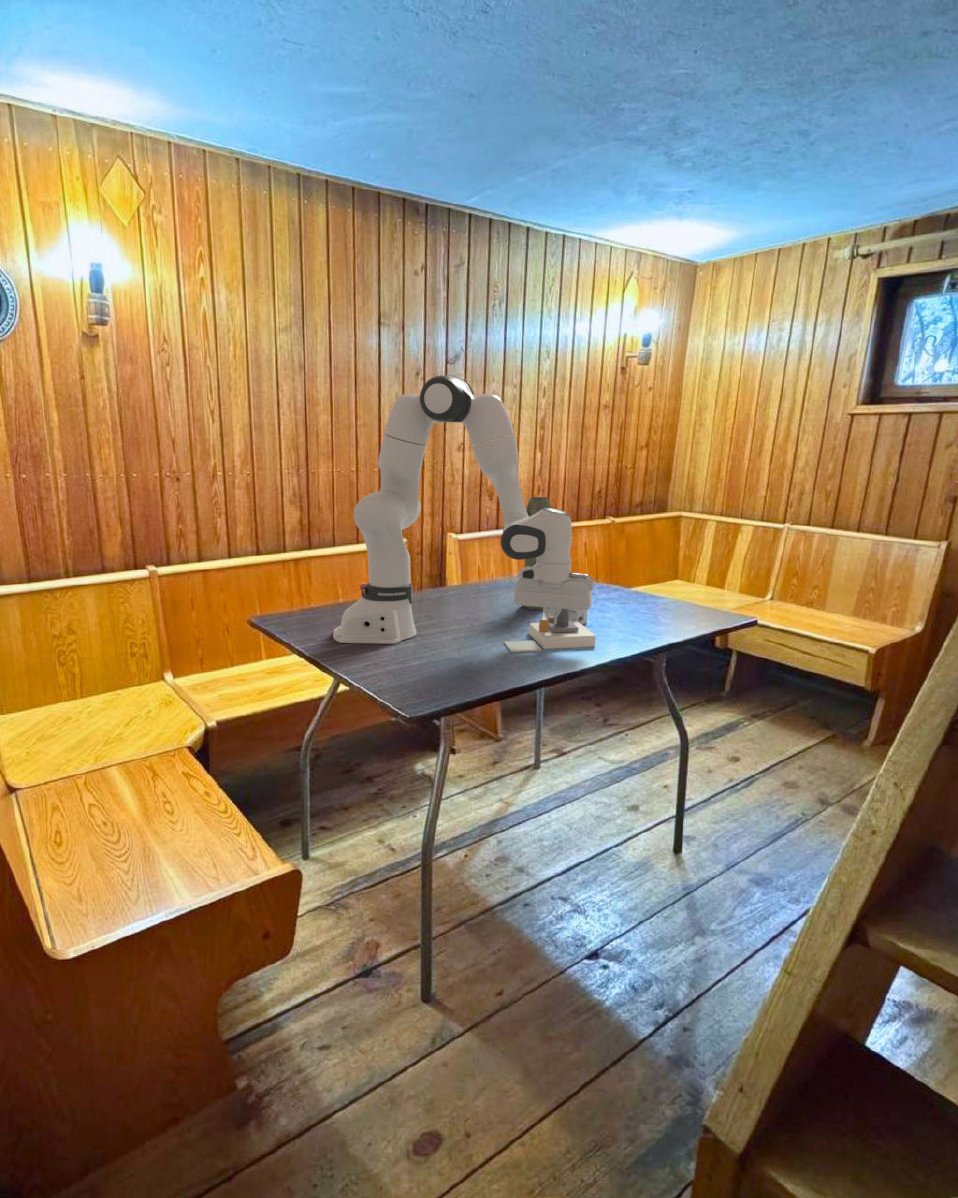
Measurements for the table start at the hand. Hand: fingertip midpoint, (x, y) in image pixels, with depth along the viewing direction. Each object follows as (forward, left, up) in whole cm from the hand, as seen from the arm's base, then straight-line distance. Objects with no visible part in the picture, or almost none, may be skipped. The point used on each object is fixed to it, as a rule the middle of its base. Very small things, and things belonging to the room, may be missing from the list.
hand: (551, 623), depth 179 cm
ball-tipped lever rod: (-1, +3, -2) cm, 4 cm away
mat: (-8, -2, -6) cm, 10 cm away
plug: (+4, +3, -6) cm, 8 cm away
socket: (+4, +3, -6) cm, 8 cm away
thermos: (+7, +39, -6) cm, 40 cm away
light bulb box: (+11, +20, -6) cm, 24 cm away
